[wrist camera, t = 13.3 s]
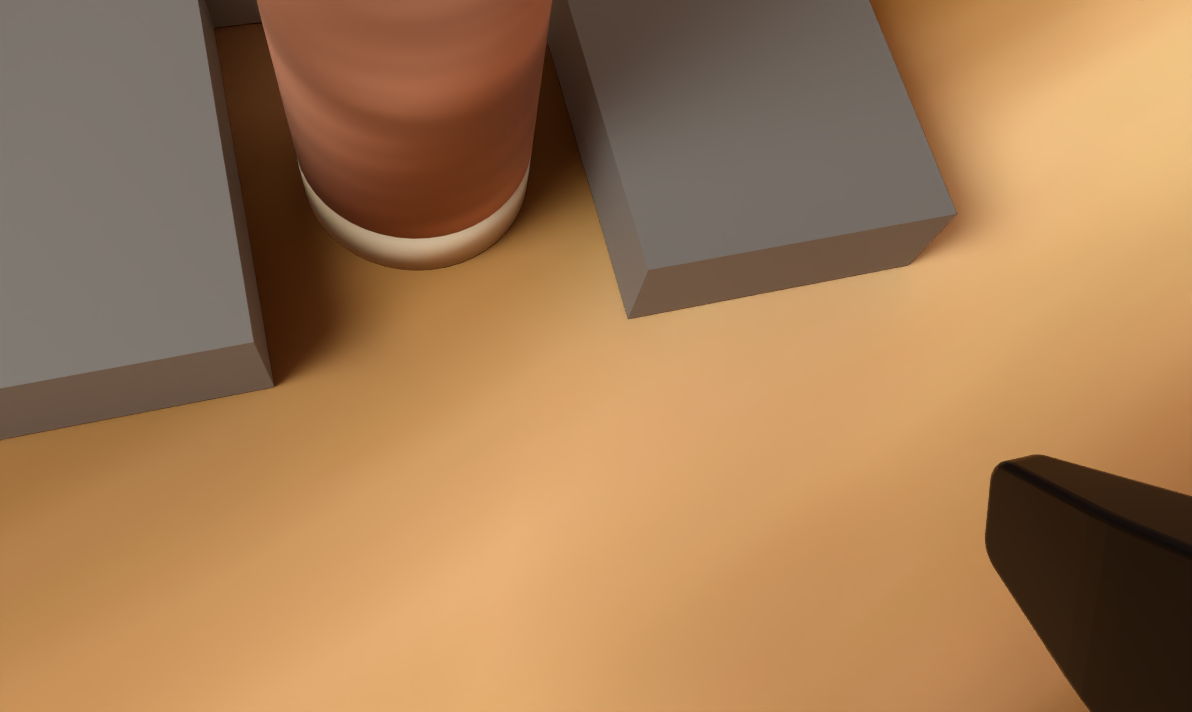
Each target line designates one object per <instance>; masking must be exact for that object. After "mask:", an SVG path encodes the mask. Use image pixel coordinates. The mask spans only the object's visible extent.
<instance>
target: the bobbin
mask: <svg viewBox="0 0 1192 712" xmlns="http://www.w3.org/2000/svg"><path fill="white" fill-rule="evenodd" d="M257 4H258V8H259V12H260V16H261V20H262V24H263V27H264V31H265V35H266V39H267V43H268V47H269V51H270V55H271V59H272V63H273V67H274V71H275V75H276V78H277V82H278V86H279V90H280V94H281V98H282V102H283V106H284V110H285V114H286V118H287V122H288V126H289V129H290V133H291V137H292V141H293V145H294V149H295V153H296V157H297V161H298V165H299V169H300V173H301V177H302V180H303V184H304V188H305V192H306V195H307V198H308V201H309V204H310V206H311V208H312V210H313V212H314V214H315V216H316V218H317V219H318V221H319V222H320V224H321V225H322V226H323V228H324V229H325V230H326V231H327V232H328V233H329V234H330V235H331V237H332V238H333V239H335V240H336V241H337V242H338V243H339V244H341V245H342V246H343V247H344V248H346V249H347V250H349V251H351V252H352V253H354V254H355V255H357V256H359V257H362V258H364V259H366V260H368V261H370V262H373V263H376V264H379V265H382V266H386V267H391V268H396V269H404V270H432V269H438V268H444V267H448V266H452V265H455V264H459V263H461V262H464V261H466V260H468V259H471V258H473V257H475V256H476V255H478V254H480V253H482V252H483V251H485V250H486V249H488V248H489V247H490V246H492V245H493V244H494V243H495V242H497V241H498V240H499V239H500V238H501V237H502V236H503V235H504V234H505V233H506V231H507V230H508V229H509V227H510V226H511V225H512V223H513V222H514V220H515V218H516V217H517V215H518V213H519V211H520V209H521V206H522V203H523V201H524V198H525V193H526V188H527V182H528V175H529V167H530V160H531V153H532V145H533V138H534V131H535V123H536V116H537V109H538V101H539V94H540V87H541V79H542V72H543V65H544V57H545V50H546V43H547V35H548V28H549V21H550V13H551V6H552V0H257Z"/></svg>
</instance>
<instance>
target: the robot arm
mask: <svg viewBox="0 0 1192 712" xmlns="http://www.w3.org/2000/svg"><path fill="white" fill-rule="evenodd" d="M985 544H986V550H987V553H988V556H989V559H990V561H991V563H992V565H993V567H994V568H995V570H996V571H997V573H998V575H999V576H1000V578H1001V579H1002V581H1003V582H1004V584H1005V585H1006V587H1007V588H1008V590H1009V591H1010V593H1011V594H1012V596H1013V598H1014V599H1015V601H1016V602H1017V604H1018V605H1019V607H1020V608H1021V610H1022V611H1023V613H1024V614H1025V616H1026V617H1027V619H1028V620H1029V622H1030V624H1031V625H1032V627H1033V628H1034V630H1035V631H1036V633H1037V634H1038V636H1039V637H1040V639H1041V640H1042V642H1043V643H1044V645H1045V647H1046V648H1047V650H1048V651H1049V653H1050V654H1051V656H1052V657H1053V659H1054V660H1055V662H1056V663H1057V665H1058V666H1059V668H1060V670H1061V671H1062V673H1063V674H1064V676H1065V677H1066V679H1067V680H1068V681H1069V683H1070V684H1071V686H1072V687H1073V689H1074V690H1075V691H1076V693H1077V694H1078V696H1079V697H1080V699H1081V700H1082V701H1083V703H1084V704H1085V705H1086V707H1087V708H1088V709H1089V710H1090V712H1192V496H1189V495H1185V494H1182V493H1178V492H1175V491H1171V490H1168V489H1164V488H1160V487H1157V486H1153V485H1150V484H1146V483H1142V482H1139V481H1135V480H1132V479H1128V478H1124V477H1121V476H1117V475H1114V474H1110V473H1106V472H1103V471H1099V470H1096V469H1092V468H1088V467H1085V466H1081V465H1078V464H1074V463H1070V462H1067V461H1063V460H1060V459H1056V458H1052V457H1049V456H1045V455H1030V456H1025V457H1021V458H1016V459H1012V460H1008V461H1003V462H1001V463H999V464H998V465H997V466H996V467H995V468H994V470H993V472H992V474H991V480H990V489H989V499H988V510H987V520H986V530H985Z"/></svg>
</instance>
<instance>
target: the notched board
mask: <svg viewBox="0 0 1192 712" xmlns="http://www.w3.org/2000/svg"><path fill="white" fill-rule="evenodd" d="M257 22H262V20H261V16H260V12H259V8H258V4H257V0H0V440H1V439H6V438H11V437H17V436H22V435H27V434H32V433H37V432H43V431H48V430H53V429H58V428H63V427H69V426H74V425H79V424H84V423H90V422H95V421H100V420H105V419H110V418H116V417H121V416H126V415H131V414H136V413H142V412H147V411H152V410H157V409H162V408H168V407H173V406H178V405H183V404H188V403H194V402H199V401H204V400H209V399H214V398H220V397H225V396H230V395H235V394H240V393H246V392H251V391H256V390H261V389H266V388H272V387H274V383H273V377H272V371H271V365H270V359H269V353H268V347H267V341H266V335H265V329H264V323H263V317H262V311H261V305H260V300H259V294H258V288H257V282H256V276H255V270H254V264H253V258H252V252H251V246H250V240H249V234H248V228H247V222H246V216H245V210H244V204H243V198H242V192H241V186H240V180H239V174H238V168H237V162H236V156H235V150H234V144H233V138H232V132H231V126H230V120H229V114H228V109H227V103H226V97H225V91H224V85H223V79H222V73H221V67H220V61H219V55H218V49H217V43H216V37H215V31H214V28H215V27H224V26H232V25H240V24H249V23H257ZM547 41H548V44H549V47H550V51H551V54H552V58H553V61H554V65H555V68H556V72H557V75H558V79H559V82H560V86H561V89H562V93H563V96H564V99H565V103H566V106H567V110H568V113H569V117H570V120H571V124H572V127H573V131H574V134H575V138H576V141H577V145H578V148H579V151H580V155H581V158H582V162H583V165H584V169H585V172H586V176H587V179H588V183H589V186H590V190H591V193H592V197H593V200H594V203H595V207H596V210H597V214H598V217H599V221H600V224H601V228H602V231H603V235H604V238H605V242H606V245H607V249H608V252H609V255H610V259H611V262H612V266H613V269H614V273H615V276H616V280H617V283H618V287H619V290H620V294H621V297H622V301H623V304H624V307H625V311H626V314H627V318H628V319H631V318H636V317H641V316H646V315H652V314H657V313H662V312H667V311H672V310H678V309H683V308H688V307H693V306H699V305H704V304H709V303H714V302H719V301H725V300H730V299H735V298H740V297H745V296H751V295H756V294H761V293H766V292H771V291H777V290H782V289H787V288H792V287H797V286H803V285H808V284H813V283H818V282H823V281H829V280H834V279H839V278H844V277H849V276H855V275H860V274H865V273H870V272H875V271H881V270H886V269H891V268H896V267H902V266H907V265H909V264H910V263H911V262H912V261H913V260H914V259H915V258H916V257H917V256H918V255H919V254H920V253H921V252H922V251H923V249H924V248H925V247H926V246H927V245H928V244H929V243H930V242H931V241H932V240H933V239H934V238H935V237H936V236H937V235H938V234H939V232H940V231H941V230H942V229H943V228H944V227H945V226H946V225H947V224H948V223H949V222H950V221H951V220H952V219H953V218H954V217H955V216H956V214H957V212H956V210H955V207H954V205H953V202H952V200H951V198H950V195H949V193H948V190H947V188H946V185H945V183H944V181H943V178H942V176H941V173H940V171H939V169H938V166H937V164H936V161H935V159H934V156H933V154H932V152H931V149H930V147H929V144H928V142H927V139H926V137H925V135H924V132H923V130H922V127H921V125H920V122H919V120H918V118H917V115H916V113H915V110H914V108H913V105H912V103H911V101H910V98H909V96H908V93H907V91H906V88H905V86H904V84H903V81H902V79H901V76H900V74H899V71H898V69H897V67H896V64H895V62H894V59H893V57H892V54H891V52H890V50H889V47H888V45H887V42H886V40H885V37H884V35H883V33H882V30H881V28H880V25H879V23H878V20H877V18H876V16H875V13H874V11H873V8H872V6H871V3H870V1H869V0H552V6H551V13H550V21H549V28H548V35H547Z"/></svg>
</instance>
